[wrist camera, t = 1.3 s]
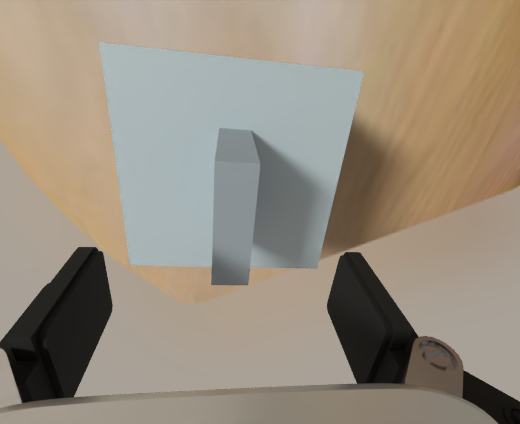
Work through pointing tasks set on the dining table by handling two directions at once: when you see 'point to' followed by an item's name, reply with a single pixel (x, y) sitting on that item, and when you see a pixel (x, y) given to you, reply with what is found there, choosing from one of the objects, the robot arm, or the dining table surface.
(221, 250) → the lid
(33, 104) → the dining table surface
